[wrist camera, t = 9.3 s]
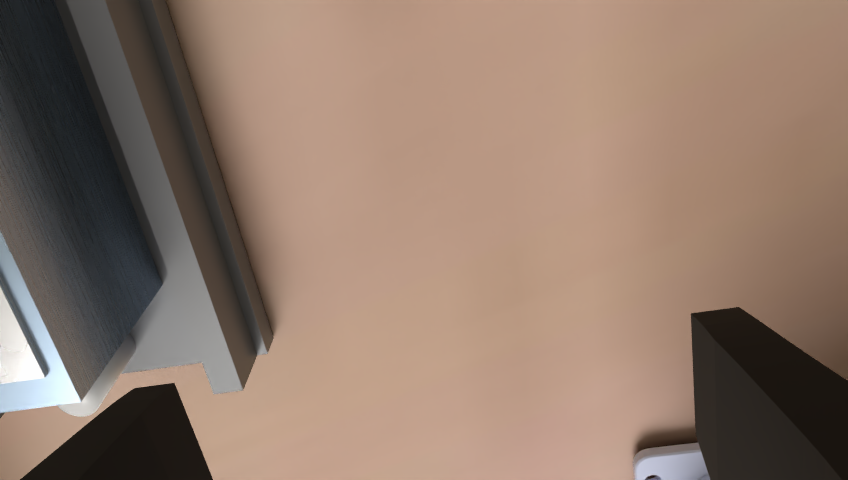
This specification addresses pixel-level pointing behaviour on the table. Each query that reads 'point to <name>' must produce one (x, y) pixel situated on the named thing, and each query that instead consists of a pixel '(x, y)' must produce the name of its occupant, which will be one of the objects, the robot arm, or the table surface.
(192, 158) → the tray
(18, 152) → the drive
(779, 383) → the robot arm
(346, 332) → the table surface
